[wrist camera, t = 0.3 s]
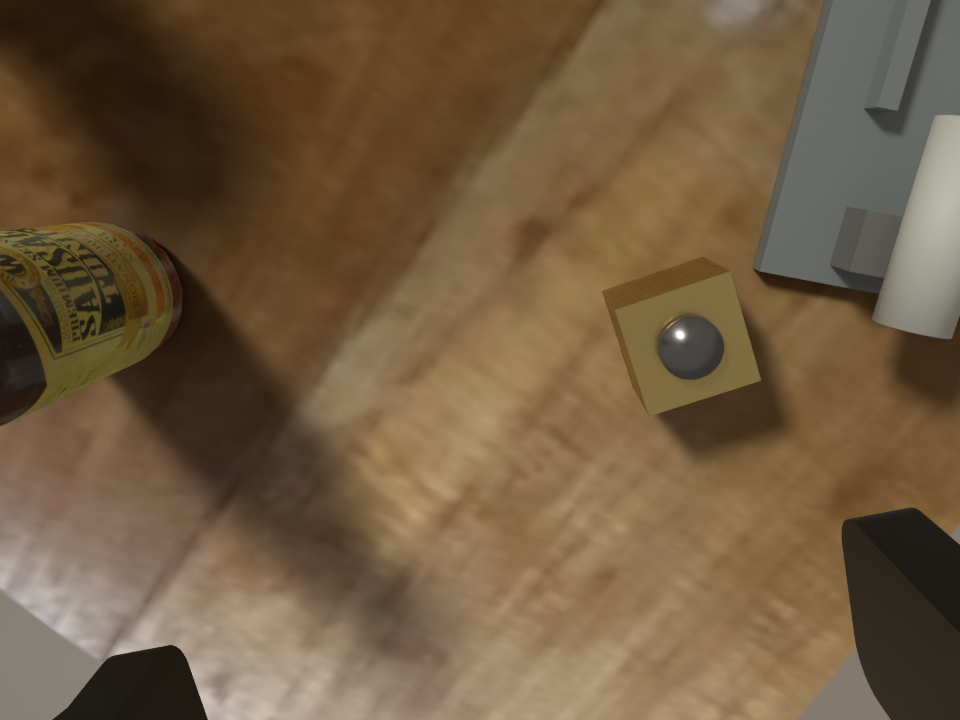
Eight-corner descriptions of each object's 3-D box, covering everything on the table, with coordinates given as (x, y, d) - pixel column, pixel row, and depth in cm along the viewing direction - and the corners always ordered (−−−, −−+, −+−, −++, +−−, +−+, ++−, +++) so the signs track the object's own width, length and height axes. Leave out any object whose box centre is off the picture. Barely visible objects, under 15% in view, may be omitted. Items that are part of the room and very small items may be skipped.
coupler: (601, 290, 35) (617, 312, 31) (702, 256, 35) (734, 273, 30) (631, 385, 36) (651, 421, 32) (730, 353, 36) (766, 385, 31)
